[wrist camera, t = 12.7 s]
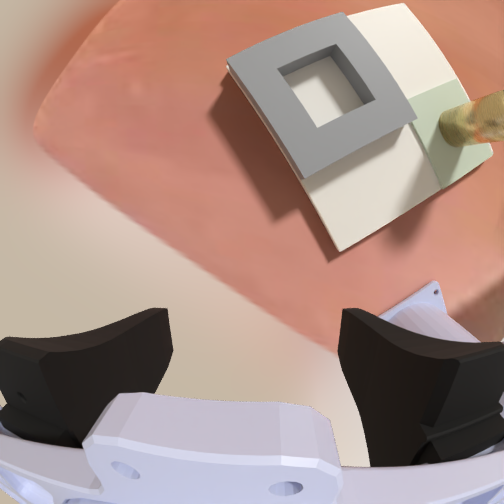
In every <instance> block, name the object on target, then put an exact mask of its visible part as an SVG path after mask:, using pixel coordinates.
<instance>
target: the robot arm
mask: <svg viewBox="0 0 504 504" xmlns="http://www.w3.org/2000/svg"><path fill="white" fill-rule="evenodd" d="M435 290H436V293H435V294H434V291H435ZM172 353H173V345H172V338H171V332H170V325H169V318H168V310H167V309H166V308H150V309H147V310H144V311H142V312H139V313H137V314H134V315H132V316H129V317H127V318H125V319H122V320H120V321H117V322H114V323H112V324H109V325H106V326H104V327H101V328H98V329H94V330H91V331H87V332H83V333H79V334H73V335H67V336H61V337H53V338H52V337H51V338H19V337H5V338H4V339H2V340H1V341H0V390H1V392H2V394H3V396H4V398H5V400H6V402H7V404H6V405H5V406H4V407H3V408H2V407H1V406H0V489H2V490H3V491H4V492H5V493H7V494H8V495H9V496H11V497H12V498H13V499H15V500H16V501H17V502H19V503H20V504H504V342H480V341H479V340H478V339H476V338H475V337H474V336H473V335H472V334H470V333H469V332H468V331H467V330H465V329H464V328H463V327H462V326H461V325H459V324H458V323H457V322H456V321H454V320H453V319H452V318H450V317H449V316H448V315H447V311H446V307H445V304H444V300H443V296H442V293H441V289H440V286H439V283H438V282H436V281H431V282H430V283H428V284H427V285H425V286H424V287H423V288H421V289H420V290H418V291H417V292H415V293H414V294H412V295H411V296H409V297H408V298H406V299H405V300H403V301H402V302H400V303H399V304H397V305H395V306H394V307H392V308H391V309H389V310H388V311H386V312H384V313H383V314H381V315H379V316H378V317H377V316H375V315H373V314H371V313H369V312H366V311H364V310H362V309H359V308H347V309H343V310H342V319H341V328H340V336H339V344H338V356H339V360H340V364H341V368H342V371H343V374H344V376H345V379H346V381H347V384H348V386H349V388H350V391H351V393H352V395H353V398H354V400H355V402H356V405H357V408H358V411H359V414H360V417H361V421H362V425H363V429H364V433H365V438H366V443H367V448H368V453H369V459H370V467H348V466H341V464H340V460H339V456H338V451H337V447H336V443H335V439H334V434H333V430H332V426H331V422H330V420H329V419H328V418H326V417H325V416H323V415H322V414H320V413H319V412H318V411H316V410H314V409H313V408H312V407H310V406H303V405H296V404H289V403H283V402H241V401H239V402H238V401H219V400H204V399H192V398H182V397H173V396H165V395H157V394H154V393H155V392H156V390H157V388H158V386H159V384H160V382H161V380H162V378H163V376H164V374H165V372H166V370H167V368H168V365H169V362H170V359H171V356H172Z"/></svg>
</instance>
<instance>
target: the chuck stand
mask: <svg viewBox="0 0 504 504" xmlns="http://www.w3.org/2000/svg"><path fill="white" fill-rule="evenodd" d="M226 61H227V64H228V65H227V66H226V67H227V70H228V72H229V74H230V75H231V76H232V78H233V79H234V81H235V82H236V83H237V85H238V86H239V88H240V89H241V91H242V92H243V93H244V95H245V96H246V98H247V99H248V101H249V102H250V104H251V105H252V107H253V108H254V110H255V111H256V113H257V114H258V116H259V117H260V119H261V120H262V122H263V123H264V125H265V126H266V128H267V130H268V131H269V133H270V134H271V136H272V137H273V139H274V141H275V142H276V144H277V145H278V147H279V149H280V150H281V152H282V153H283V155H284V157H285V158H286V160H287V162H288V163H289V165H290V167H291V168H292V170H293V172H294V173H295V175H296V177H297V178H298V180H299V182H300V183H301V185H302V187H303V189H304V190H305V192H306V194H307V196H308V197H309V199H310V201H311V203H312V204H313V206H314V208H315V210H316V212H317V213H318V215H319V217H320V219H321V221H322V223H323V224H324V226H325V228H326V230H327V232H328V234H329V236H330V237H331V239H332V241H333V243H334V245H335V247H336V249H337V250H338V251H339V252H341V251H343V250H344V249H346V248H348V247H350V246H351V245H353V244H355V243H356V242H358V241H360V240H361V239H363V238H365V237H366V236H368V235H370V234H371V233H373V232H374V231H376V230H378V229H379V228H381V227H383V226H384V225H386V224H388V223H389V222H391V221H392V220H394V219H396V218H397V217H399V216H400V215H402V214H404V213H405V212H407V211H408V210H410V209H411V208H413V207H415V206H416V205H418V204H419V203H421V202H422V201H424V200H425V199H427V198H429V197H430V196H432V195H433V194H435V193H436V192H438V191H439V190H441V189H444V188H446V187H447V186H449V185H450V184H452V183H453V182H455V181H456V180H458V179H459V178H461V177H462V176H464V175H465V174H467V173H468V172H470V171H471V170H472V169H474V168H475V167H477V166H478V165H480V164H481V163H482V162H484V161H485V160H487V159H488V158H489V157H491V156H492V155H493V151H492V148H491V145H490V143H483V144H477V145H470V146H464V147H453V146H451V145H449V144H448V143H447V142H446V141H445V140H444V138H443V136H442V134H441V132H440V129H439V118H440V115H441V113H442V112H444V111H446V110H448V109H451V108H454V107H456V106H459V105H462V104H464V103H467V102H470V99H469V97H468V95H467V94H466V92H465V90H464V88H463V86H462V84H461V83H460V81H459V79H458V77H457V76H456V74H455V72H454V71H453V69H452V67H451V66H450V64H449V63H448V61H447V60H446V58H445V56H444V55H443V53H442V52H441V50H440V49H439V48H438V46H437V45H436V43H435V42H434V40H433V39H432V38H431V36H430V35H429V34H428V32H427V31H426V30H425V28H424V27H423V26H422V24H421V23H420V22H419V21H418V19H417V18H416V17H415V16H414V14H413V13H412V12H411V11H410V10H409V9H408V7H407V6H406V5H405V4H404V3H401V4H395V5H390V6H385V7H381V8H376V9H372V10H368V11H364V12H360V13H356V14H353V15H349V16H346V15H345V14H344V13H343V12H340V13H337V14H334V15H330V16H327V17H324V18H321V19H318V20H315V21H312V22H309V23H307V24H304V25H301V26H298V27H296V28H293V29H291V30H288V31H286V32H283V33H281V34H278V35H276V36H274V37H271V38H269V39H267V40H265V41H262V42H260V43H258V44H256V45H254V46H252V47H249V48H247V49H245V50H243V51H241V52H239V53H237V54H235V55H233V56H231V57H230V58H228V59H226Z"/></svg>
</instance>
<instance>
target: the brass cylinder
mask: <svg viewBox="0 0 504 504" xmlns="http://www.w3.org/2000/svg"><path fill="white" fill-rule="evenodd" d="M439 129H440V132H441V134H442V136H443V138H444V140H445V141H446V142H447V143H448V144H449V145H451V146H453V147H464V146H470V145H477V144H483V143H490V142H498V141H504V90H502V91H499V92H496V93H493V94H490V95H487V96H484V97H481V98H478V99H475V100H473V101H470V102H467V103H464V104H462V105H459V106H456V107H454V108H451V109H448V110H446V111H444V112H442V113H441V115H440V118H439Z"/></svg>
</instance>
